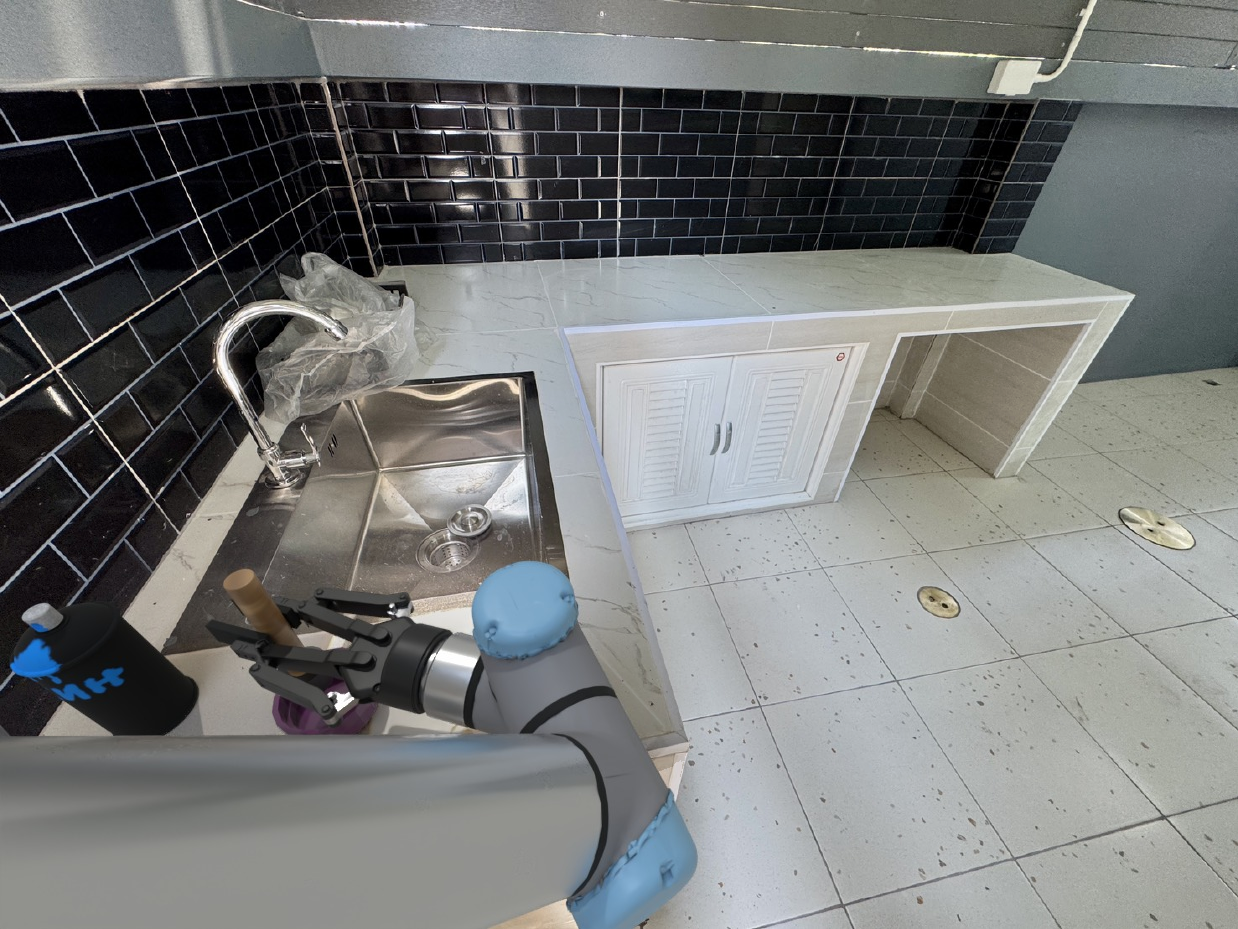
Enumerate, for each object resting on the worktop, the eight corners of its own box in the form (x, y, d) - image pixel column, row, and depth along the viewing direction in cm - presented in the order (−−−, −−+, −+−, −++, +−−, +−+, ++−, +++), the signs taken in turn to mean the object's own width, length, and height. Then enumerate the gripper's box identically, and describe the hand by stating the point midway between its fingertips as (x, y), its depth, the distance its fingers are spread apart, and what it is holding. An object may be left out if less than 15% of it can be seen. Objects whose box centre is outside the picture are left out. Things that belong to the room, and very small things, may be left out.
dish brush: (294, 710, 54) (212, 611, 42) (281, 677, 56) (201, 576, 45) (341, 682, 56) (275, 581, 45) (326, 652, 59) (261, 550, 48)
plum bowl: (304, 773, 55) (287, 757, 52) (277, 702, 61) (261, 683, 58) (395, 711, 60) (385, 693, 57) (363, 650, 66) (352, 631, 63)
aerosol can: (142, 678, 63) (23, 578, 50) (212, 673, 63) (112, 573, 50) (95, 749, 56) (-55, 655, 44) (174, 743, 57) (49, 648, 44)
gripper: (404, 776, 44) (179, 709, 47) (482, 624, 55) (296, 580, 59) (380, 740, 39) (132, 668, 43) (471, 581, 51) (270, 536, 54)
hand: (228, 617), depth 51 cm, fingers closed on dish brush, 2 cm apart
